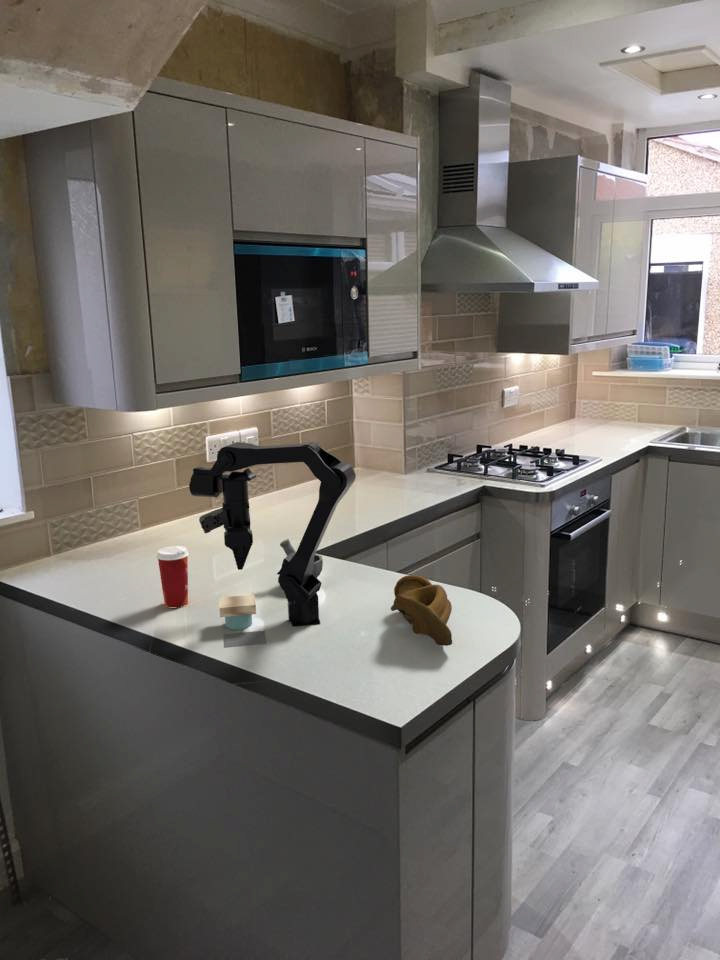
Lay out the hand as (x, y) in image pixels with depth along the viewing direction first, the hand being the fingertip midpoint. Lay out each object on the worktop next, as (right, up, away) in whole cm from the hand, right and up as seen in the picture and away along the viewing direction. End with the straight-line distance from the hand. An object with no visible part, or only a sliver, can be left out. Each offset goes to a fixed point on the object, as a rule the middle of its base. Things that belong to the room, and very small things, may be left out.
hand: (239, 563), depth 182 cm
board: (0, -10, -4) cm, 11 cm away
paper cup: (-17, -11, +11) cm, 23 cm away
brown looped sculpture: (+42, -15, -8) cm, 45 cm away
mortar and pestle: (+13, -8, +23) cm, 27 cm away
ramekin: (0, -14, -3) cm, 14 cm away
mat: (+3, -16, -11) cm, 19 cm away
